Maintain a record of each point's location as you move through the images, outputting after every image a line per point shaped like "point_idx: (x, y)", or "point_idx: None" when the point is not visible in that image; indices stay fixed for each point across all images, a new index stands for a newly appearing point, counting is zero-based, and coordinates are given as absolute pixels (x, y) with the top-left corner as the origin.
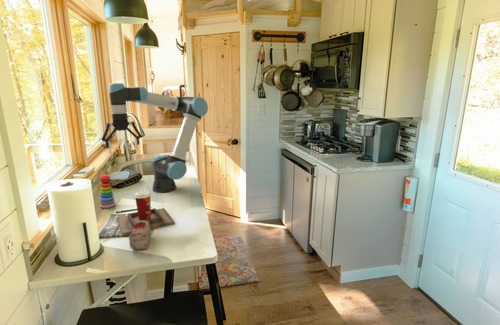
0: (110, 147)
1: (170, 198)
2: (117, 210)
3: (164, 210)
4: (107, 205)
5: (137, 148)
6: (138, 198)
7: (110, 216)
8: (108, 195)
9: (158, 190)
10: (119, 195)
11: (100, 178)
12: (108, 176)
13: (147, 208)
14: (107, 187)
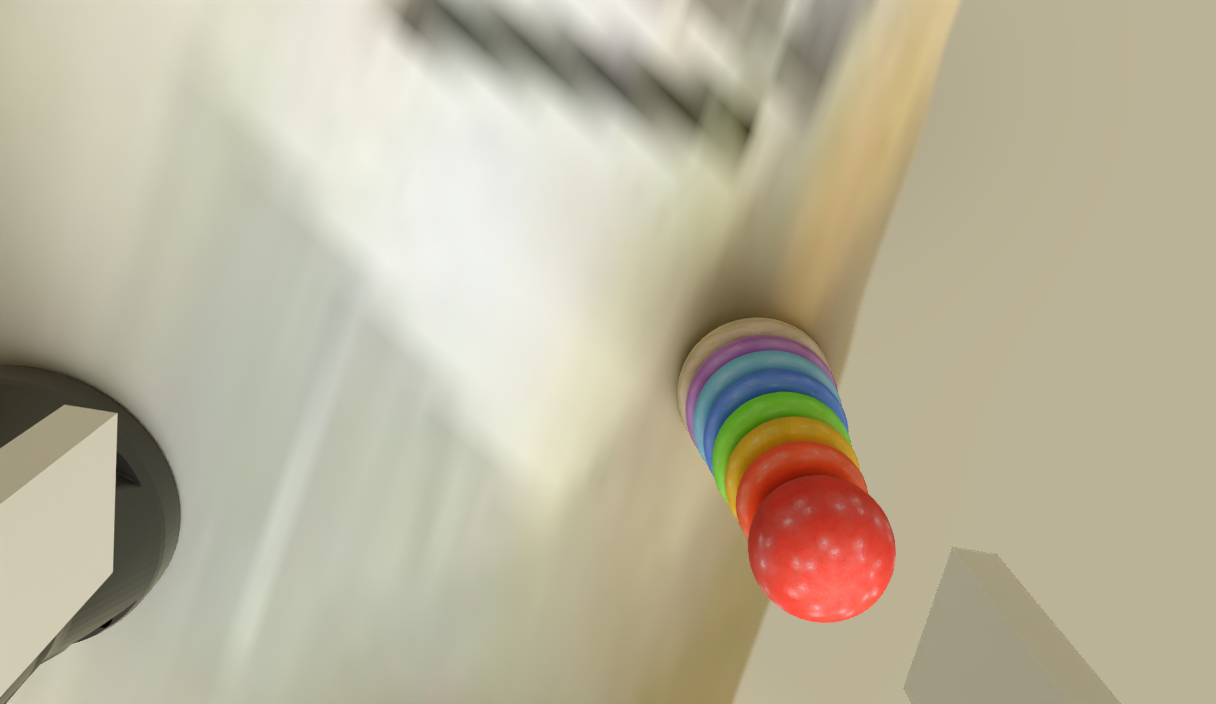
0: (1069, 693)
1: (72, 125)
2: (722, 182)
3: None
4: (782, 329)
5: (18, 448)
6: None
7: (844, 53)
8: (779, 375)
9: (126, 433)
10: (544, 619)
11: (895, 555)
12: (787, 532)
13: None
14: (793, 438)
